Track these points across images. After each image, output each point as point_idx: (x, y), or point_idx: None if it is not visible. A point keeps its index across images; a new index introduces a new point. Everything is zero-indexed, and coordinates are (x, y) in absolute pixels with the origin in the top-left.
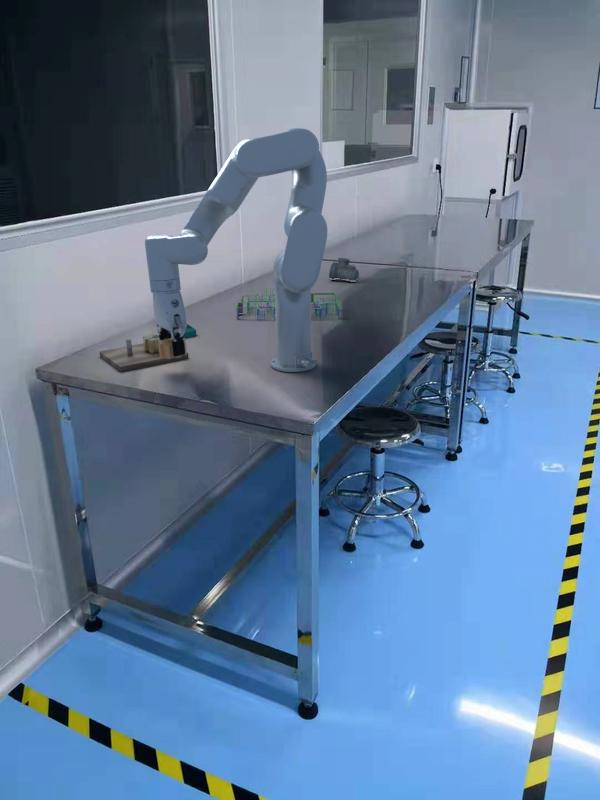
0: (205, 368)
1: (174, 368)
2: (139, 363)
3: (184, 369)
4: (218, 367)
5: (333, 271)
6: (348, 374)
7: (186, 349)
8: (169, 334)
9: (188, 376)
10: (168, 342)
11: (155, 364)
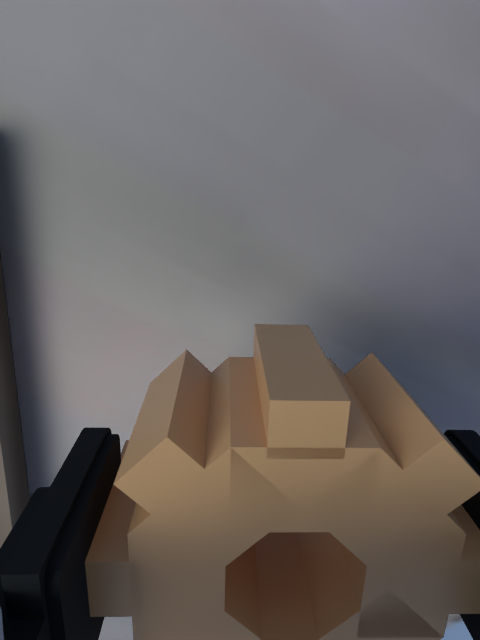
0: (330, 137)
1: (176, 346)
2: None
3: (244, 294)
4: (384, 18)
5: None
6: None
7: (393, 377)
8: (63, 581)
9: (400, 339)
10: (226, 584)
11: (20, 430)
